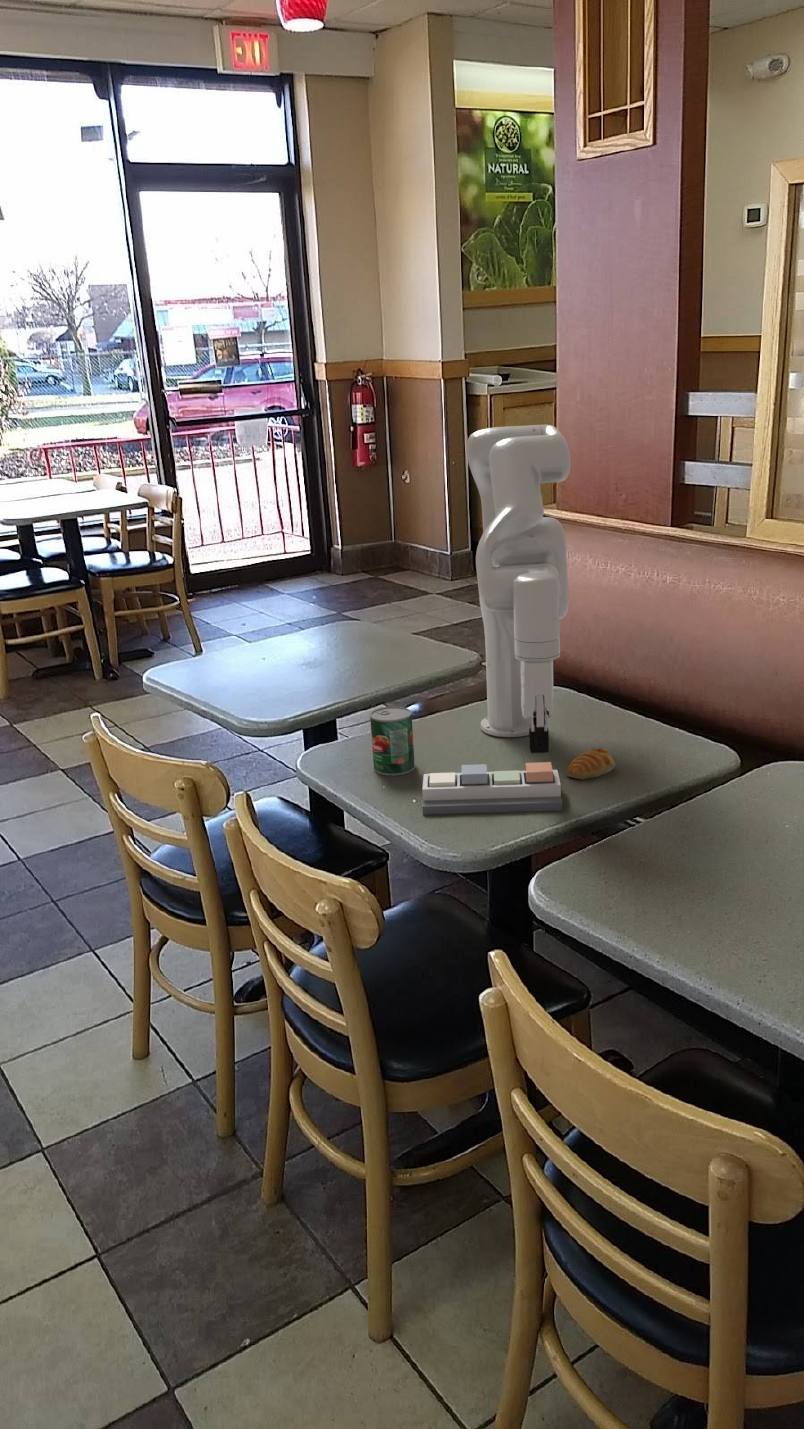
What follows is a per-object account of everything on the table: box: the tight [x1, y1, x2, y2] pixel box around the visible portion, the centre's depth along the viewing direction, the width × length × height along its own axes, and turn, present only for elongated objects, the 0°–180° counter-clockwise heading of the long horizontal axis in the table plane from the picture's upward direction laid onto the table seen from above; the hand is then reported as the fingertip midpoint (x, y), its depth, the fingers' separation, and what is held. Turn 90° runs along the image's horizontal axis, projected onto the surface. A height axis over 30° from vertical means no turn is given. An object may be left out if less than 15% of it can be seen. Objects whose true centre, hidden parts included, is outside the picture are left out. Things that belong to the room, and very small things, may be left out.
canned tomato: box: [369, 706, 416, 776], centre depth 207 cm, size 8×8×11 cm
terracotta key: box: [525, 761, 554, 782], centre depth 191 cm, size 4×4×2 cm
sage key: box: [493, 770, 520, 785], centre depth 192 cm, size 4×4×2 cm
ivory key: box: [429, 772, 456, 787], centre depth 192 cm, size 4×4×2 cm
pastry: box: [566, 747, 616, 780], centre depth 201 cm, size 9×7×4 cm
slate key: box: [461, 763, 488, 784], centre depth 192 cm, size 4×4×2 cm
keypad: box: [421, 769, 563, 816], centre depth 192 cm, size 12×24×4 cm, turn 87°
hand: (539, 751), depth 189 cm, fingers closed
